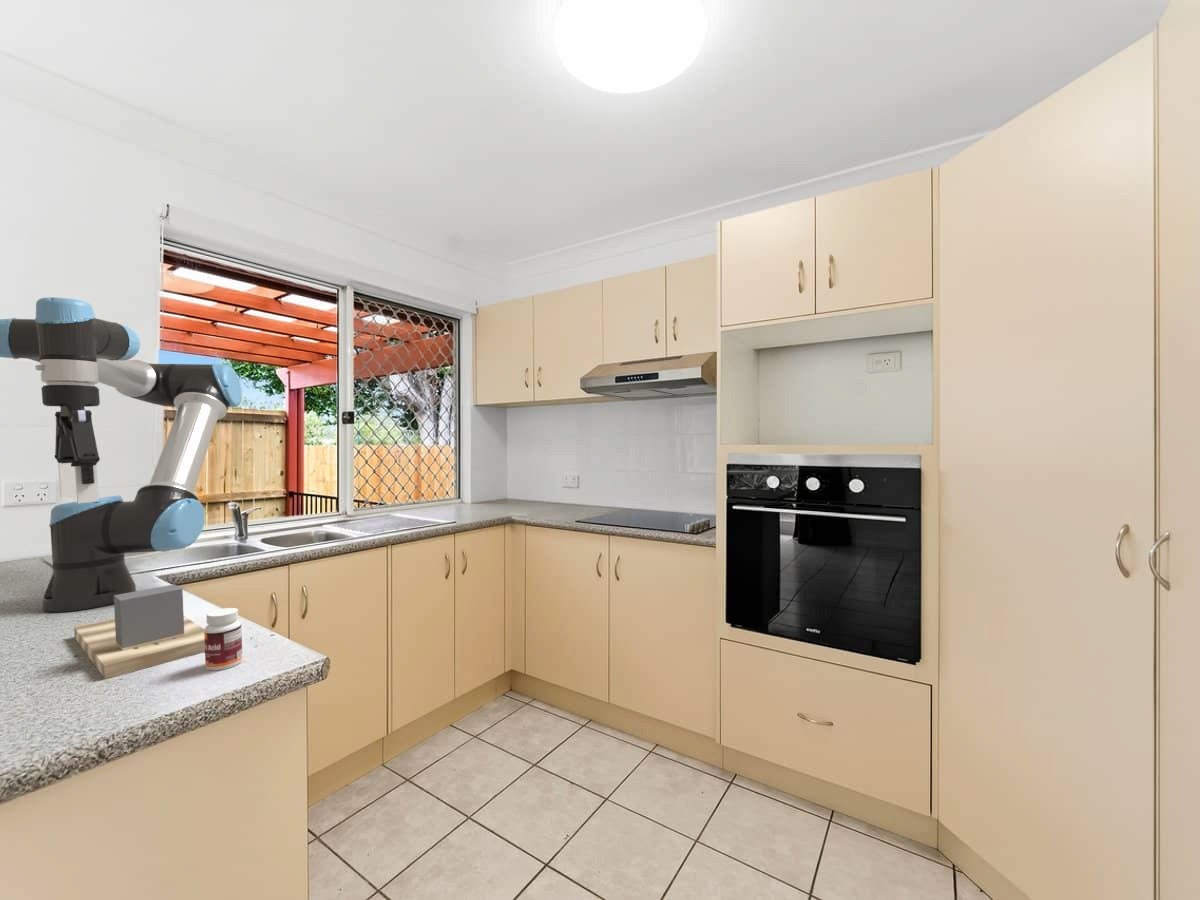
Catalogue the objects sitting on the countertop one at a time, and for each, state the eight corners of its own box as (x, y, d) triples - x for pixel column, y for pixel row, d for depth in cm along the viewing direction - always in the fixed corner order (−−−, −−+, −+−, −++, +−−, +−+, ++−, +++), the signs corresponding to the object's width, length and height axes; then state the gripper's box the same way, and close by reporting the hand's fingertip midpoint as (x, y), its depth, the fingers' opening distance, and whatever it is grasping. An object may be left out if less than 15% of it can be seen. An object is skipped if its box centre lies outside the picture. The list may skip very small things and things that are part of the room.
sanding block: (122, 650, 85) (120, 600, 85) (116, 643, 88) (113, 595, 88) (184, 635, 91) (182, 588, 91) (176, 629, 94) (174, 584, 94)
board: (74, 638, 97) (74, 626, 97) (171, 616, 108) (170, 606, 108) (104, 679, 79) (104, 665, 79) (216, 648, 90) (215, 636, 90)
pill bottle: (198, 669, 82) (195, 615, 82) (229, 656, 87) (226, 605, 86) (219, 673, 80) (217, 618, 80) (249, 660, 85) (247, 608, 85)
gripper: (28, 387, 102) (37, 496, 103) (56, 380, 87) (65, 507, 89) (82, 388, 108) (89, 492, 109) (116, 382, 94) (124, 501, 95)
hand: (79, 499), depth 99 cm, fingers open, 13 cm apart
